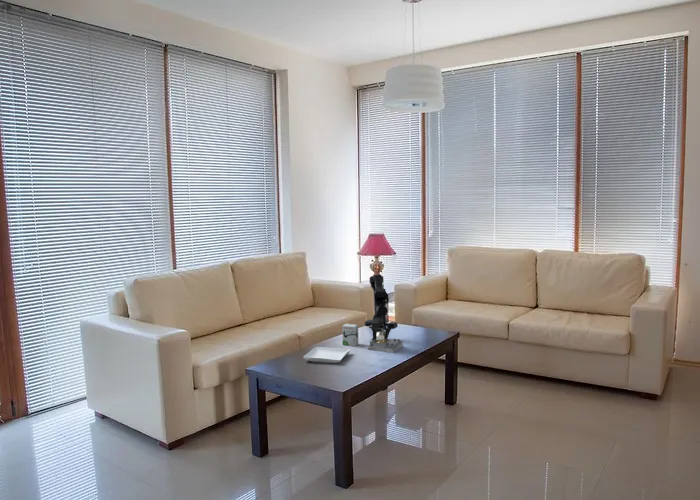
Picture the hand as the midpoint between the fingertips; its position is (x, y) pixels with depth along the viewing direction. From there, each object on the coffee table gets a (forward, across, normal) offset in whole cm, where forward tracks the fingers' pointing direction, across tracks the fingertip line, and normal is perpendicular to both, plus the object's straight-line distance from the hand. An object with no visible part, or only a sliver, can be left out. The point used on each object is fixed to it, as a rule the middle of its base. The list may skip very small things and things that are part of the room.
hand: (381, 338), depth 313 cm
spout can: (+3, 0, 0) cm, 3 cm away
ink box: (+6, -20, -2) cm, 20 cm away
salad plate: (+6, -18, -31) cm, 36 cm away
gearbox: (+5, +2, 0) cm, 6 cm away
